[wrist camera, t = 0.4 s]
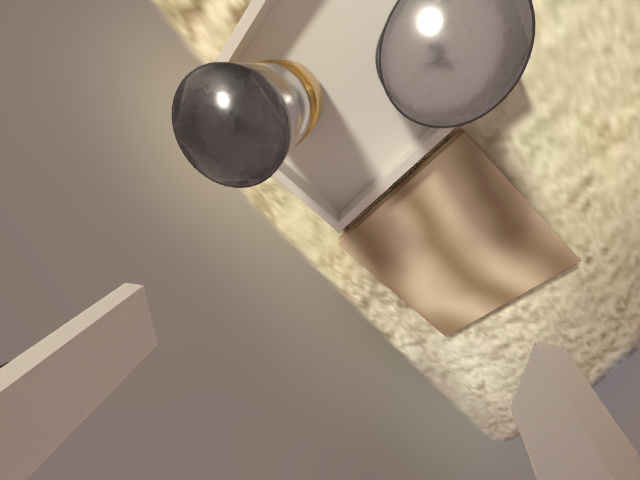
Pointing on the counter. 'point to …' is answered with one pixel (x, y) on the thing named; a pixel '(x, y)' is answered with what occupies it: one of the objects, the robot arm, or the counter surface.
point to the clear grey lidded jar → (453, 57)
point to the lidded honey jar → (244, 117)
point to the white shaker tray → (336, 101)
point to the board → (457, 238)
